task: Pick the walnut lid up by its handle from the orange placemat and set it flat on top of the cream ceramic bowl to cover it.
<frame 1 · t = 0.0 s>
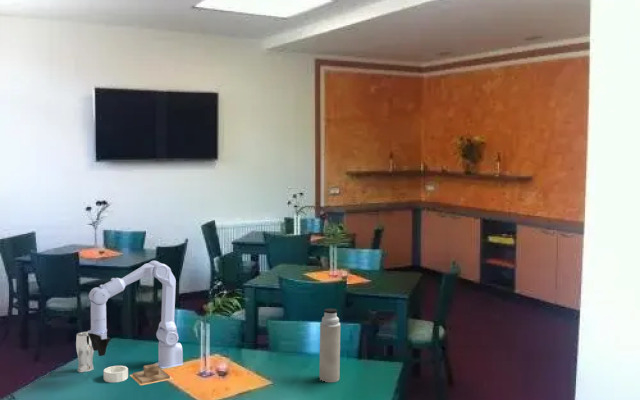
hand: (99, 352, 254), 10 cm above the table, tool pointing down, fingers open, 7 cm apart
mat: (151, 378, 256), on the table
bowl: (115, 379, 254), on the table
beer glass: (85, 370, 264), on the table
lid: (151, 376, 256), resting on mat
thermos bottle: (329, 379, 258), on the table
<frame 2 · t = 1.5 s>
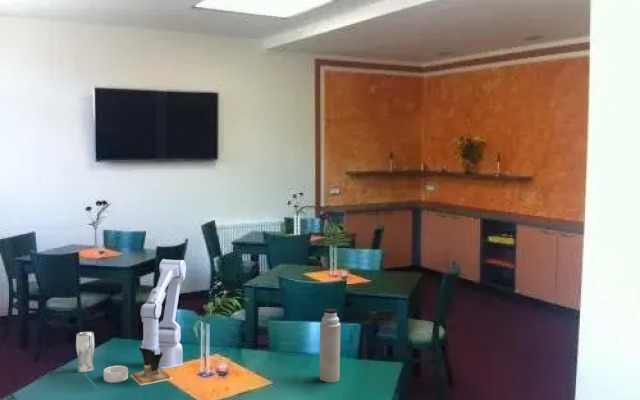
hand: (151, 367, 255), 4 cm above the table, tool pointing down, fingers open, 7 cm apart
nothing on the table moved.
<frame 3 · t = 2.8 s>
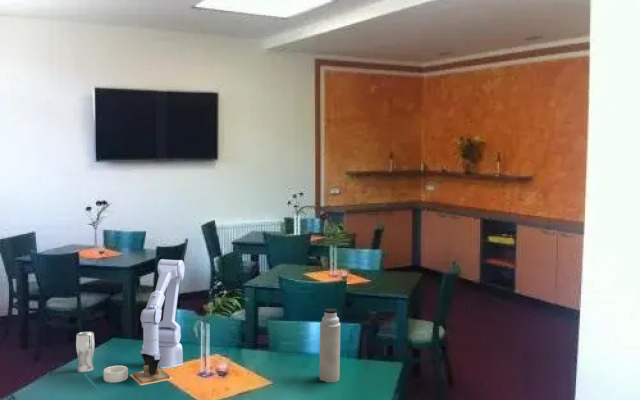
hand: (151, 372, 256), 2 cm above the table, tool pointing down, fingers closed on lid, 3 cm apart
lid: (151, 377, 256), resting on mat, touching gripper
everything else where it was.
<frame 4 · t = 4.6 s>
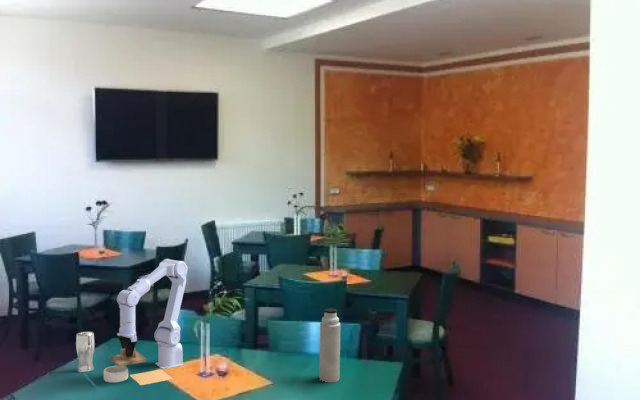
hand: (127, 355, 254), 10 cm above the table, tool pointing down, fingers closed on lid, 3 cm apart
lid: (128, 360, 254), point 8 cm above the table, touching gripper
everything else where it was.
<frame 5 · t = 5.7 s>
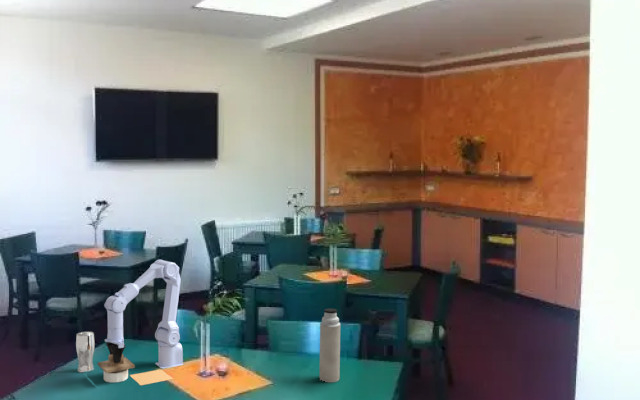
hand: (115, 361, 253), 7 cm above the table, tool pointing down, fingers closed on lid, 3 cm apart
lid: (116, 366, 254), point 5 cm above the table, touching gripper
everything else where it was.
when the fingers open (7 cm above the table, at t = 6.3 s): lid drops 1 cm, resting on bowl.
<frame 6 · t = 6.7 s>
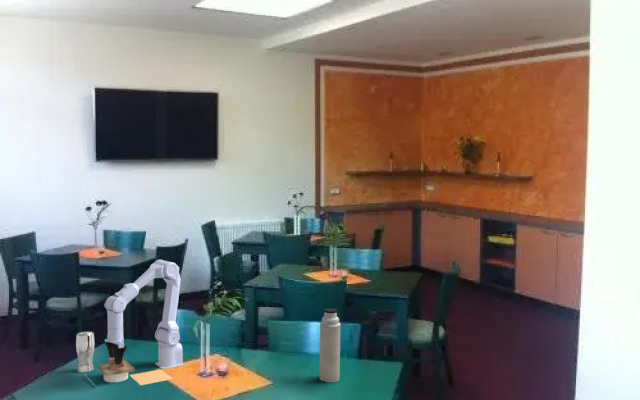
hand: (115, 361, 253), 7 cm above the table, tool pointing down, fingers open, 6 cm apart
lid: (116, 369, 254), point 4 cm above the table, touching bowl
everything else where it was.
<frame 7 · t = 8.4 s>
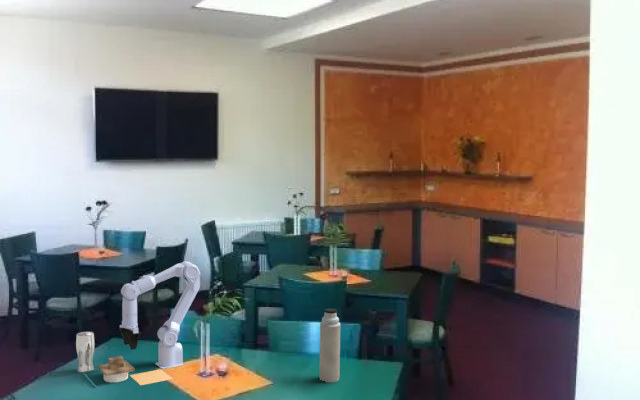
hand: (130, 346, 263), 10 cm above the table, tool pointing down, fingers open, 7 cm apart
nothing on the table moved.
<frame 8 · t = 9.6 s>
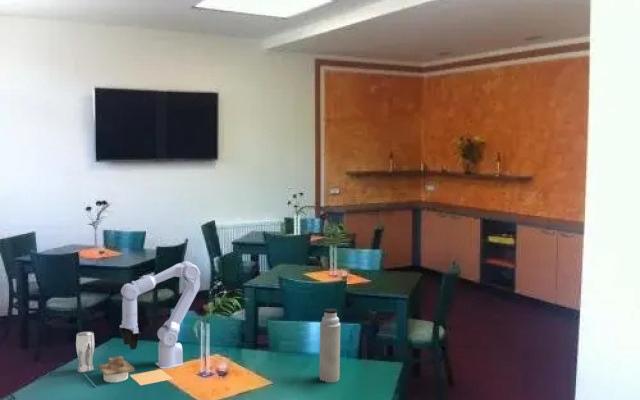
hand: (130, 346, 263), 10 cm above the table, tool pointing down, fingers open, 7 cm apart
nothing on the table moved.
at the end: lid 0.1 cm off-centre on the bowl, point 4.0 cm above the bowl's base; lid tilted 0°; lid touching bowl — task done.
